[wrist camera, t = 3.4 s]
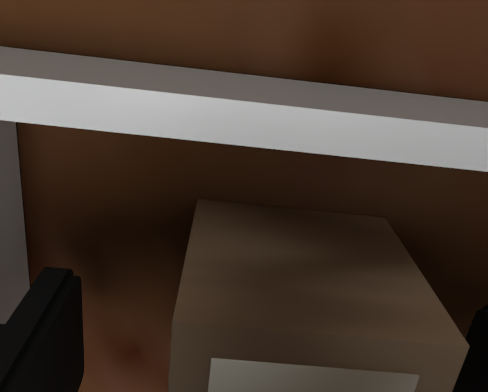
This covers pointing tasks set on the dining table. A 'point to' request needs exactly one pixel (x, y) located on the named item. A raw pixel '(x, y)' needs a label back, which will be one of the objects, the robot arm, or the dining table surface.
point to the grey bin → (215, 122)
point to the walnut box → (306, 307)
